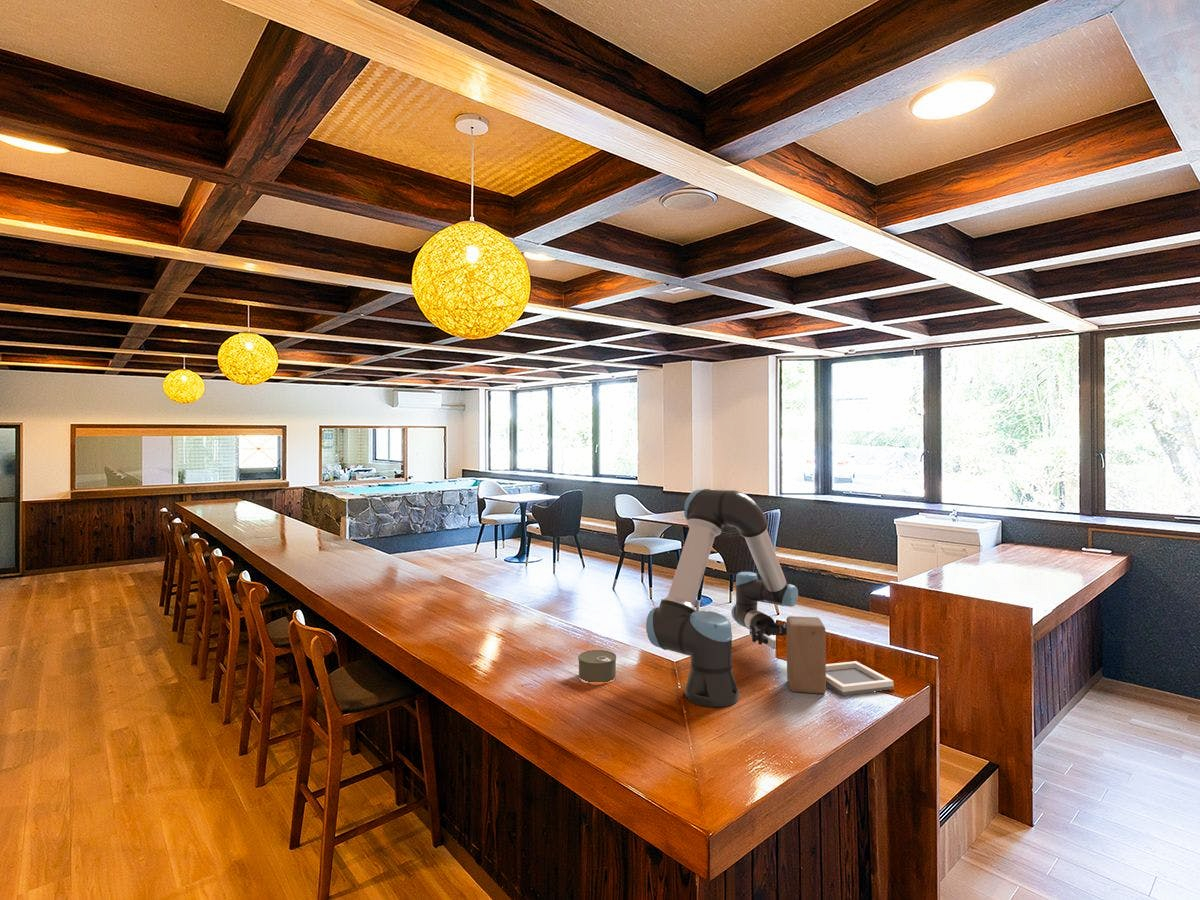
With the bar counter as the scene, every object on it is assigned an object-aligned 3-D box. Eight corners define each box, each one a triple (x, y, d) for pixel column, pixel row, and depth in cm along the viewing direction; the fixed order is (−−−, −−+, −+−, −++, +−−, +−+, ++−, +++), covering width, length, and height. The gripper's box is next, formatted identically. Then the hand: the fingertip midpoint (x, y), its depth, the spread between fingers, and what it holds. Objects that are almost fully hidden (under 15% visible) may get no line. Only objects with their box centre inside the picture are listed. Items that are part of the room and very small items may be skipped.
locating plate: (842, 696, 171) (842, 686, 171) (809, 674, 188) (809, 666, 188) (893, 690, 175) (893, 680, 175) (856, 669, 192) (855, 661, 192)
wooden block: (826, 695, 172) (826, 626, 172) (790, 692, 174) (790, 624, 174) (820, 681, 182) (820, 616, 182) (786, 679, 184) (786, 615, 184)
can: (598, 668, 195) (598, 647, 195) (624, 678, 187) (624, 656, 187) (570, 678, 187) (570, 656, 187) (596, 688, 178) (596, 666, 178)
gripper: (792, 631, 209) (829, 651, 188) (727, 637, 203) (758, 658, 182) (792, 610, 209) (829, 627, 188) (726, 615, 203) (757, 634, 182)
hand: (794, 642), depth 185 cm, fingers open, 13 cm apart
